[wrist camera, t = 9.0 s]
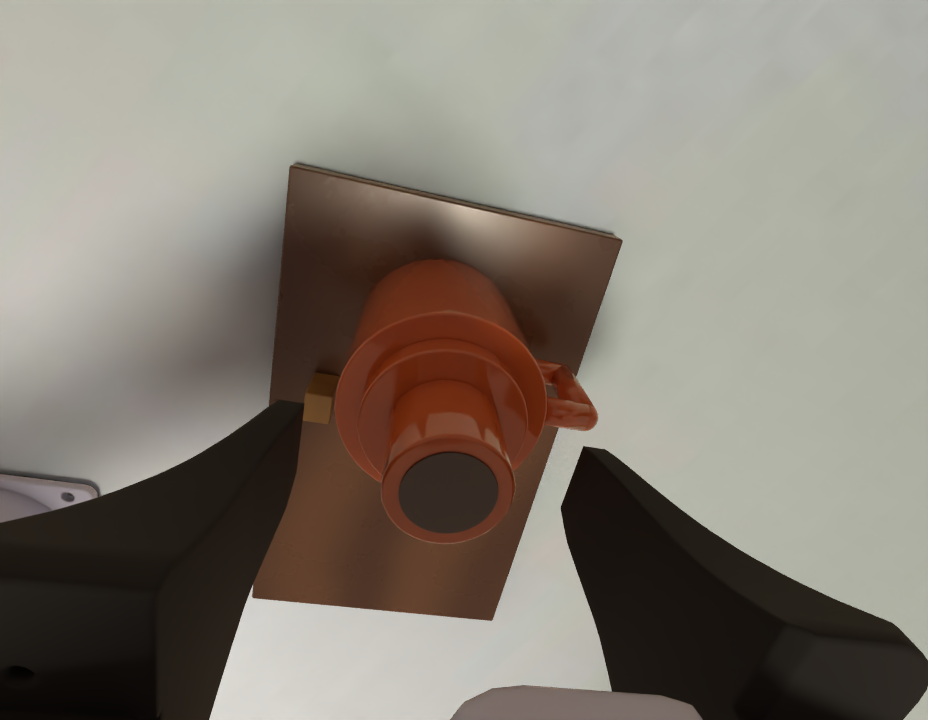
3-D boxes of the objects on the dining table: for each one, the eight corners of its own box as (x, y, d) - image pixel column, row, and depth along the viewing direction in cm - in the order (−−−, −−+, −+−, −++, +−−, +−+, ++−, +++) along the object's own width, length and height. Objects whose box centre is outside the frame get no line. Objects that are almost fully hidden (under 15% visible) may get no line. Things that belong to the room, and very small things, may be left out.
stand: (257, 581, 26) (239, 631, 23) (295, 163, 18) (275, 169, 16) (490, 605, 28) (497, 653, 25) (614, 234, 20) (642, 250, 17)
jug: (539, 421, 22) (616, 613, 13) (348, 390, 21) (296, 580, 12) (582, 286, 20) (710, 413, 11) (370, 243, 18) (326, 347, 10)
